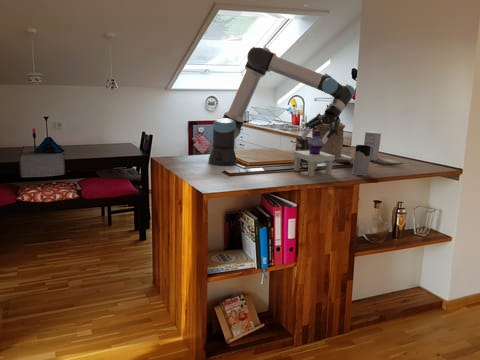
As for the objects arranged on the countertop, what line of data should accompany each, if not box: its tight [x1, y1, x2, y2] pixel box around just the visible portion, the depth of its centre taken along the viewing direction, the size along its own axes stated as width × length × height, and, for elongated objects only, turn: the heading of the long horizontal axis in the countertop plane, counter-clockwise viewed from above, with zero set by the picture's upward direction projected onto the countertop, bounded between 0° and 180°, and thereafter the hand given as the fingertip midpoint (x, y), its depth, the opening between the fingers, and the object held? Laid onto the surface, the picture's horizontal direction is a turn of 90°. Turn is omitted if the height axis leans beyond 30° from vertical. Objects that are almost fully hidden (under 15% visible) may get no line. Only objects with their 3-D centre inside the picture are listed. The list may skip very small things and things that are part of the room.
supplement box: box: [363, 130, 382, 161], centre depth 284 cm, size 10×9×17 cm
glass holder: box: [351, 144, 373, 176], centre depth 241 cm, size 9×14×15 cm, turn 135°
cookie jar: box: [311, 104, 352, 161], centre depth 280 cm, size 25×25×32 cm
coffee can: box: [294, 136, 313, 165], centre depth 260 cm, size 10×10×14 cm
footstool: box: [292, 151, 336, 177], centre depth 237 cm, size 15×15×10 cm
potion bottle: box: [308, 130, 323, 155], centre depth 234 cm, size 9×9×12 cm
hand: (312, 140), depth 232 cm, fingers open, 13 cm apart
